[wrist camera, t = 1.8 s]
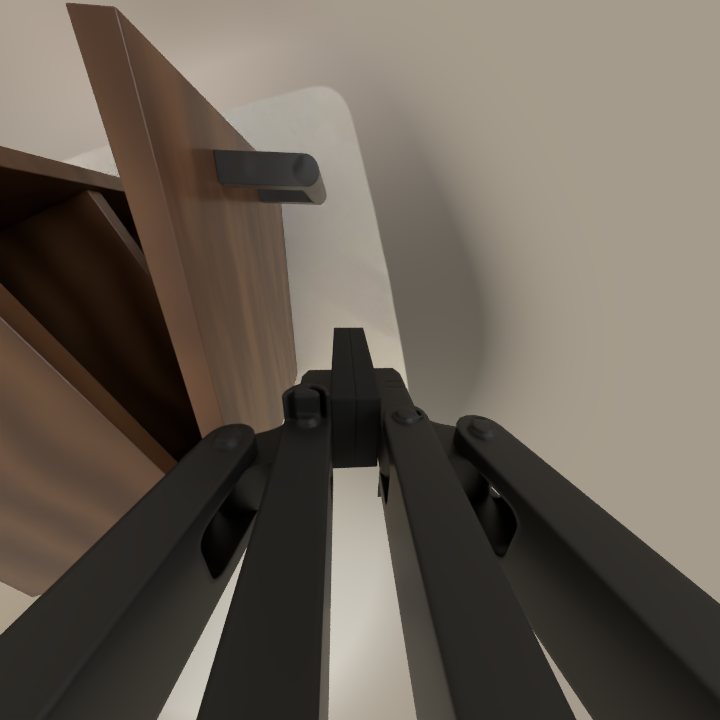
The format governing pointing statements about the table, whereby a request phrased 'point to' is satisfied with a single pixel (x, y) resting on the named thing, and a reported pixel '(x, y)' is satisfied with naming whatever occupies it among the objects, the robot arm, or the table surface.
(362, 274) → the table surface
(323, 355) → the table surface
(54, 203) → the cupboard
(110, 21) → the door
